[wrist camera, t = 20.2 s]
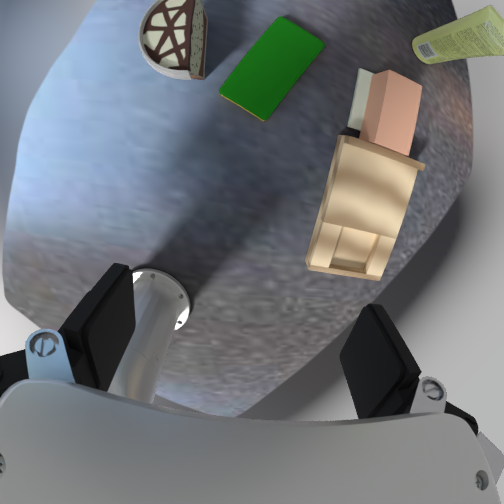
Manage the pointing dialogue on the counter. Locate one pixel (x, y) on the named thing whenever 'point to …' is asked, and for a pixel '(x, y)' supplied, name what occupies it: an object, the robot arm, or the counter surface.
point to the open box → (361, 209)
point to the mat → (360, 99)
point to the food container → (175, 38)
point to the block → (391, 112)
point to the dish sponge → (271, 68)
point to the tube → (463, 38)
